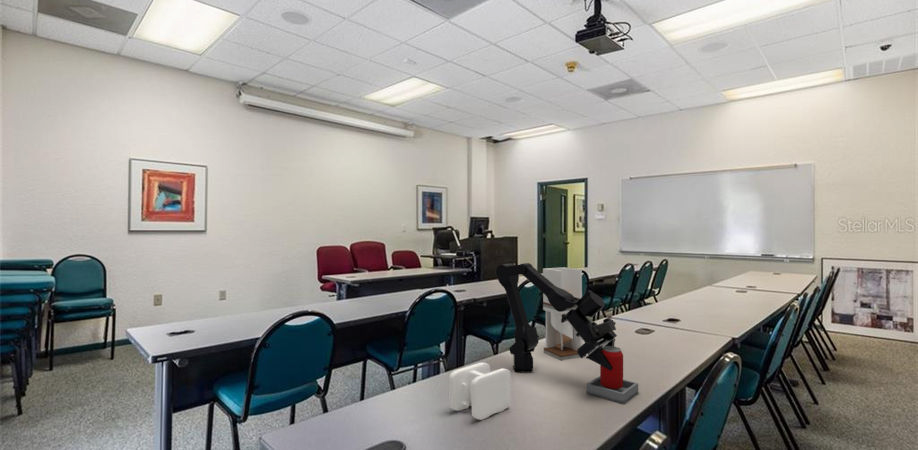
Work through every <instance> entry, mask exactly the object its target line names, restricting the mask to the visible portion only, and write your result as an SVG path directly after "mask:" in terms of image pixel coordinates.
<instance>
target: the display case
mask: <svg viewBox="0 0 918 450" xmlns="http://www.w3.org/2000/svg"><path fill="white" fill-rule="evenodd" d="M582 271H583V270H582V269H577V268H570V267H551V268H549V267H547V268H546V267H545V268H542V275H543V276H544V277H545V278H547V279H548V280H549V281H550V282H551V283H552V284H554V285H555V286H556V287H558V288H561V289H564V290H565V291H567V292H569V293H570V294H572V295H573V296H574V297H576V298H580V299H581V298H582V297H583V272H582ZM542 298H543V304H542V310H543V311H545V347H543V354H546V355H548V356H550V357H553V358H555V359H557V360H559V361H567V360H572V359H579V358H580V356H579V355H578V354H577V349H578V348H579V347H581V346H582V345H583V339H582V338H581V337H580V336H579V337H577V336H576V334H577V332H576V330H575V329H574V328H573V327H572V325H571V324H570V323H569V322H568V321H566V322H563V323H562V322H561V319H562V314H567V313H568V312H569V311H570V310H571V309H569V310H566V311H563V312H559V311H557V310H555V309H554V308H553V306H552V305H551V304H550V303H549V301H548V298H547V297H546V295H545V294H544V293H543V292H542ZM577 307H578V306H576V307H573V308H572V309H574V310H575V309H576V308H577Z"/></svg>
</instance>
